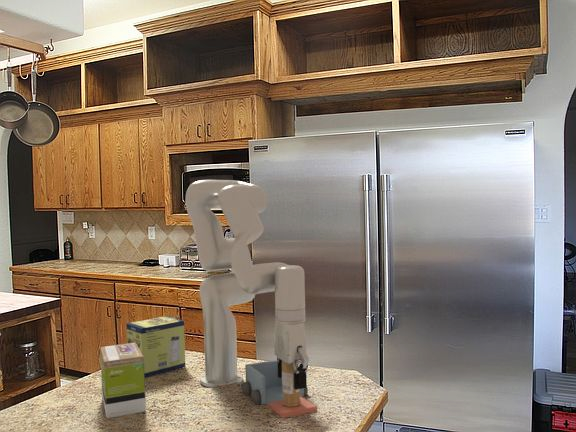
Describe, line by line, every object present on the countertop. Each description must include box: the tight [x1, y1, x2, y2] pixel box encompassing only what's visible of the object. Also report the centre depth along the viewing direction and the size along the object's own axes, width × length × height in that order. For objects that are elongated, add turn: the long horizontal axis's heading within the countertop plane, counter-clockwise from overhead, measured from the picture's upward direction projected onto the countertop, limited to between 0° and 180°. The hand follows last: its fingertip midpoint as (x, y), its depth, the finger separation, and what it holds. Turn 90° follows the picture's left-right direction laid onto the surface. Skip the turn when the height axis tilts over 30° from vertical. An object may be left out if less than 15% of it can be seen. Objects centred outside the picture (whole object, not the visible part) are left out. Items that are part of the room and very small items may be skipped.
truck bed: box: [241, 359, 309, 406], centre depth 144 cm, size 12×15×8 cm
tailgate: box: [267, 397, 318, 419], centre depth 134 cm, size 1×9×9 cm
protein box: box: [125, 315, 186, 379], centre depth 170 cm, size 10×16×16 cm
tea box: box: [99, 342, 147, 419], centre depth 140 cm, size 15×10×15 cm
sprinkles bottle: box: [281, 359, 301, 407], centre depth 134 cm, size 5×5×13 cm
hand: (291, 382), depth 133 cm, fingers open, 9 cm apart
